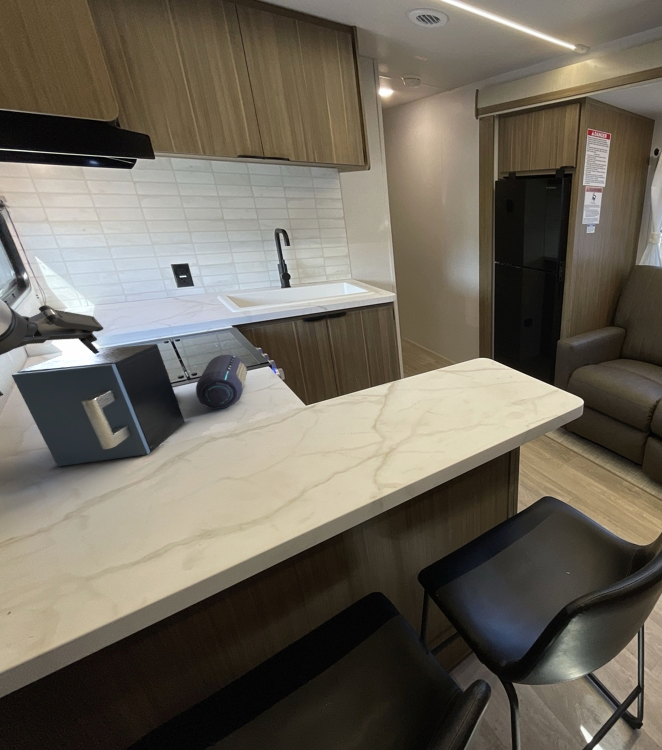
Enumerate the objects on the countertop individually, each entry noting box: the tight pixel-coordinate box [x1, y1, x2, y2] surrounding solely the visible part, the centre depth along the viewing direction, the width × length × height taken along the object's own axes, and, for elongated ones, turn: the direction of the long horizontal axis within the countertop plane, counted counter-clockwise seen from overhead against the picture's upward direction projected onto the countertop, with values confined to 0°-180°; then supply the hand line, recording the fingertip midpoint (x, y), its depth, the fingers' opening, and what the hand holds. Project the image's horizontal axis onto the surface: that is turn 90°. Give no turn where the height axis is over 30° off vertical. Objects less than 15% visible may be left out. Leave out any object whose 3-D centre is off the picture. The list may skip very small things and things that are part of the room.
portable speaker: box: [195, 354, 248, 410], centre depth 111 cm, size 25×10×10 cm, turn 27°
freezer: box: [16, 343, 186, 453], centre depth 86 cm, size 14×16×20 cm
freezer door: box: [11, 364, 151, 467], centre depth 76 cm, size 7×16×20 cm, turn 102°
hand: (46, 367), depth 70 cm, fingers open, 13 cm apart
